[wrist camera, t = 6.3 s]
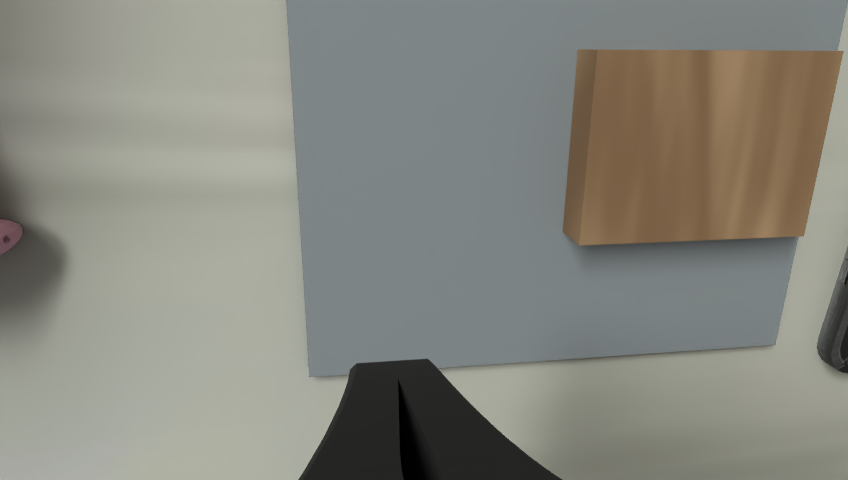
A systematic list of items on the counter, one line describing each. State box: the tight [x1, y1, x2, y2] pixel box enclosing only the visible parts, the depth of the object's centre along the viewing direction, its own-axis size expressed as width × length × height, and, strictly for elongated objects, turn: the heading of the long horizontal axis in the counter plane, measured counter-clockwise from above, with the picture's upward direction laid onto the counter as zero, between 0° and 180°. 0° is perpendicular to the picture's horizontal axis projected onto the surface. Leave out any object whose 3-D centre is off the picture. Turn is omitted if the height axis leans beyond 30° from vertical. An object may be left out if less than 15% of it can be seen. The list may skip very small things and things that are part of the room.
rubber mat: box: [286, 0, 848, 377], centre depth 20 cm, size 18×16×1 cm
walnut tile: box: [563, 49, 843, 245], centre depth 19 cm, size 2×6×8 cm
